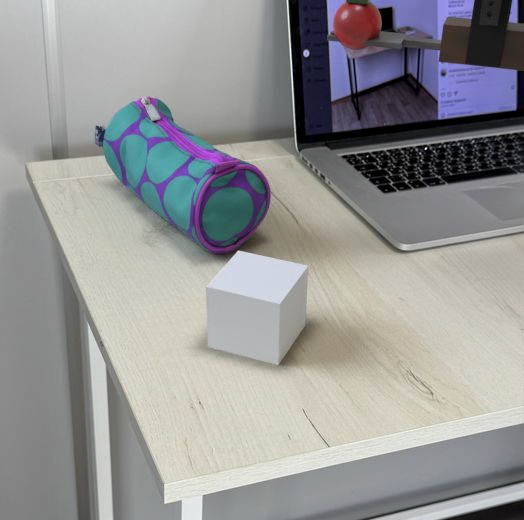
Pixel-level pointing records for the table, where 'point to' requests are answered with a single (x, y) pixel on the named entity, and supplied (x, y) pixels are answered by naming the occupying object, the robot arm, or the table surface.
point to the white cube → (256, 306)
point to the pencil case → (184, 176)
